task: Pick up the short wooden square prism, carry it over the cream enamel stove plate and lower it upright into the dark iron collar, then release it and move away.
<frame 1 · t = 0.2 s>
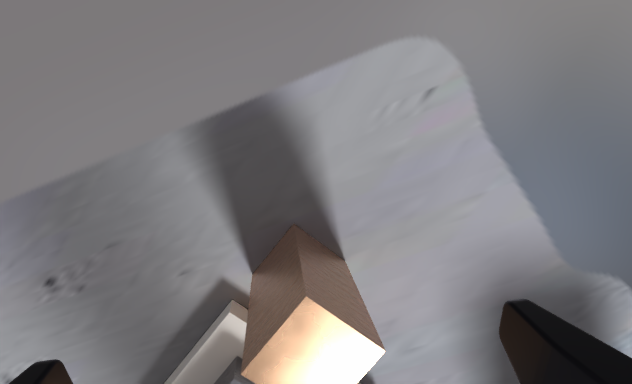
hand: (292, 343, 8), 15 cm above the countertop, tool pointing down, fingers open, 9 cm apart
wooden square prism: (299, 267, 24), on the countertop
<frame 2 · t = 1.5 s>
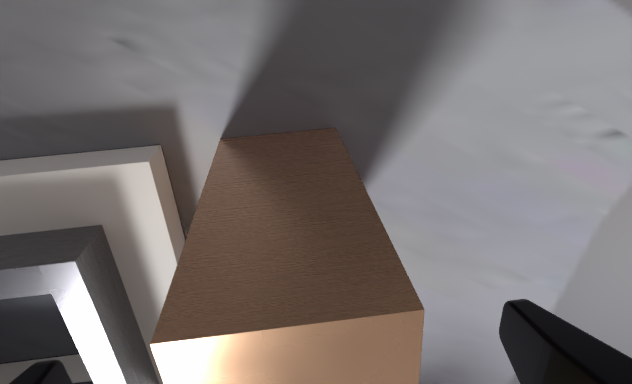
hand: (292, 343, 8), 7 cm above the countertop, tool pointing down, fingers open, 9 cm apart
collar plate: (43, 302, 16), on the countertop
wooden square prism: (284, 185, 15), on the countertop
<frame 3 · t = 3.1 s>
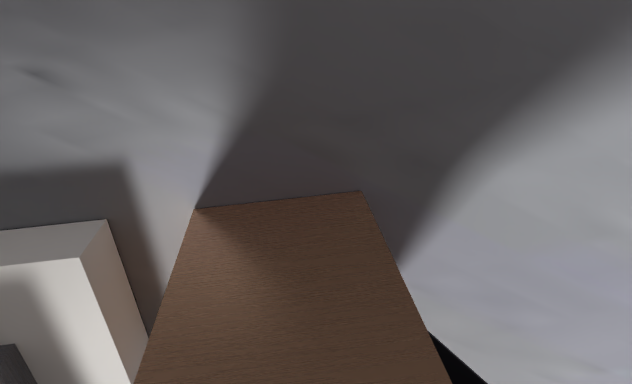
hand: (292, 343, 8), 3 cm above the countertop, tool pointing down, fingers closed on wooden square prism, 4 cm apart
wooden square prism: (287, 267, 10), on the countertop, touching gripper
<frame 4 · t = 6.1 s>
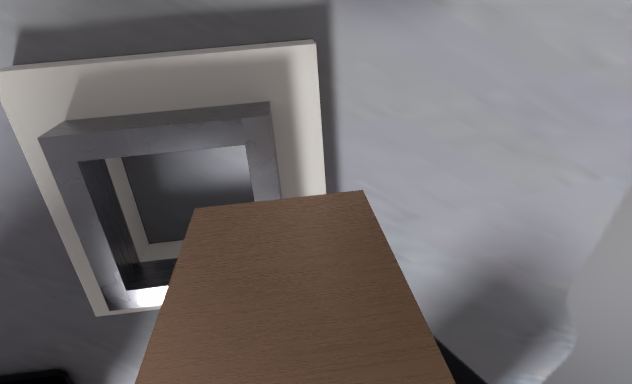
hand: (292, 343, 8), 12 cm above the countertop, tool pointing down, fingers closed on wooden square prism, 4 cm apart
collar plate: (196, 184, 19), on the countertop
wooden square prism: (288, 266, 10), point 9 cm above the countertop, touching gripper
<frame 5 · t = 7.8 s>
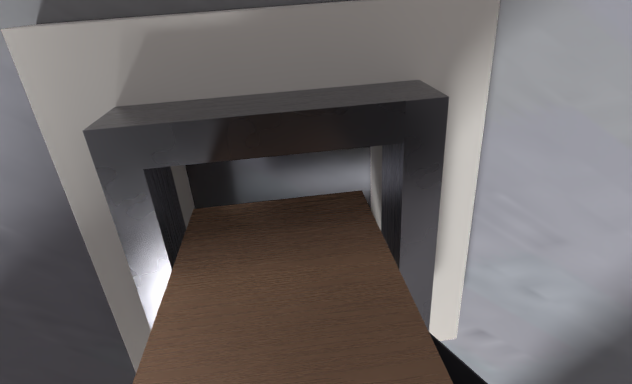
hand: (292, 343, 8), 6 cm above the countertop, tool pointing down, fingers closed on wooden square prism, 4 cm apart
collar plate: (284, 200, 14), on the countertop
wooden square prism: (287, 267, 10), point 4 cm above the countertop, touching gripper
when the fingers open (4 cm above the countertop, at t = 9.3 s): wooden square prism drops 2 cm, resting in collar plate.
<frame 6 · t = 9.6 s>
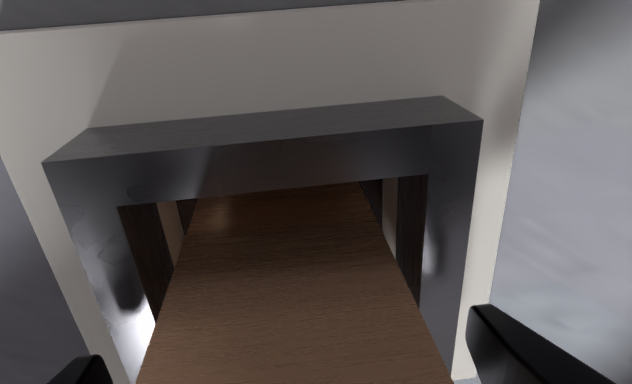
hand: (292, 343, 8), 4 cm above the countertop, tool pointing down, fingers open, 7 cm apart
collar plate: (285, 227, 12), on the countertop
wooden square prism: (284, 227, 12), resting in collar plate
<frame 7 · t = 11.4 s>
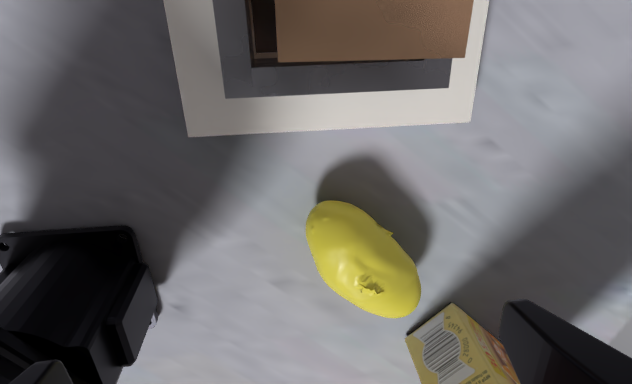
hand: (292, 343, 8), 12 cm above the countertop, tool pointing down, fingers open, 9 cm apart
candy box: (466, 346, 26), on the countertop
yellow elongated oval piece: (356, 240, 22), on the countertop
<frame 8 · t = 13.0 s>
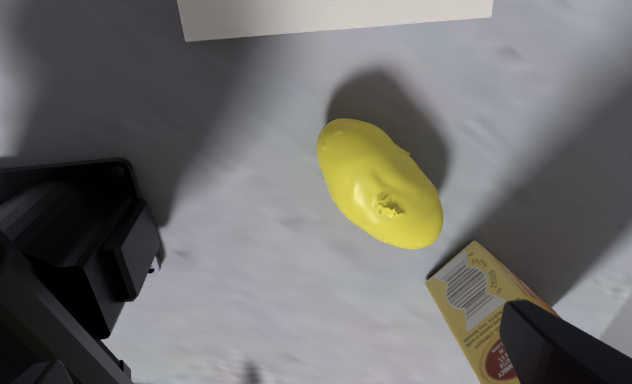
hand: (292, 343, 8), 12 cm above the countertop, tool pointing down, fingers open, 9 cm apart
candy box: (490, 291, 25), on the countertop
yellow elongated oval piece: (370, 171, 20), on the countertop
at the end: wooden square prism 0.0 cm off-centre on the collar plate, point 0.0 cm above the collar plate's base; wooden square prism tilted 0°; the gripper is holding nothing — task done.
